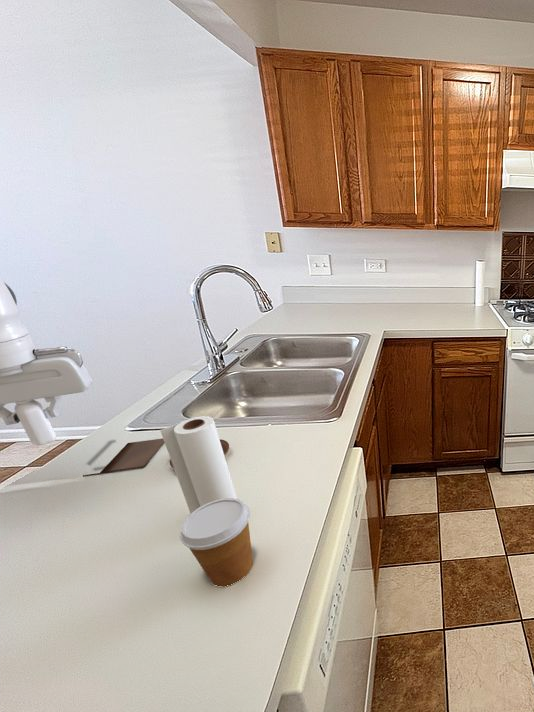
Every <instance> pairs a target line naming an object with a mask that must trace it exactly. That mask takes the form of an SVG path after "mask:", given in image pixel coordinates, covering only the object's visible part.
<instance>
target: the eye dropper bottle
mask: <svg viewBox="0 0 534 712" xmlns="http://www.w3.org/2000/svg"><path fill="white" fill-rule="evenodd" d="M14 403H15V405H14V412H16V414H17V416H18V418H19V420H20V422H19V423H20V424H21V426H22V428H23V429H24V431H25V434H26V436H27V437H28V440H29V441H30V443H31V444H32V445H35V446H39V447H40V446H44V445H47V444H50V443H53V442H54V441H56V440H57V433H56V432H55V430H54V428H53V426H52V423H51V422H50V419H49V418H46V416H45V414H44V412H43V411H44V410H45V408H44V407H43V405H42V403H40V402H39V401H38V400H37V399H34V400H28V401H21V402H14Z"/></svg>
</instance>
